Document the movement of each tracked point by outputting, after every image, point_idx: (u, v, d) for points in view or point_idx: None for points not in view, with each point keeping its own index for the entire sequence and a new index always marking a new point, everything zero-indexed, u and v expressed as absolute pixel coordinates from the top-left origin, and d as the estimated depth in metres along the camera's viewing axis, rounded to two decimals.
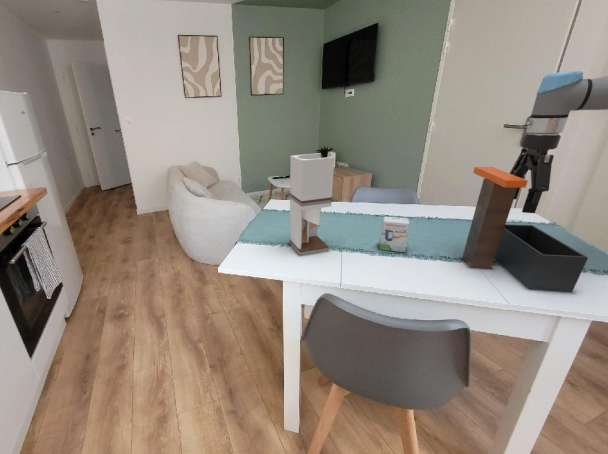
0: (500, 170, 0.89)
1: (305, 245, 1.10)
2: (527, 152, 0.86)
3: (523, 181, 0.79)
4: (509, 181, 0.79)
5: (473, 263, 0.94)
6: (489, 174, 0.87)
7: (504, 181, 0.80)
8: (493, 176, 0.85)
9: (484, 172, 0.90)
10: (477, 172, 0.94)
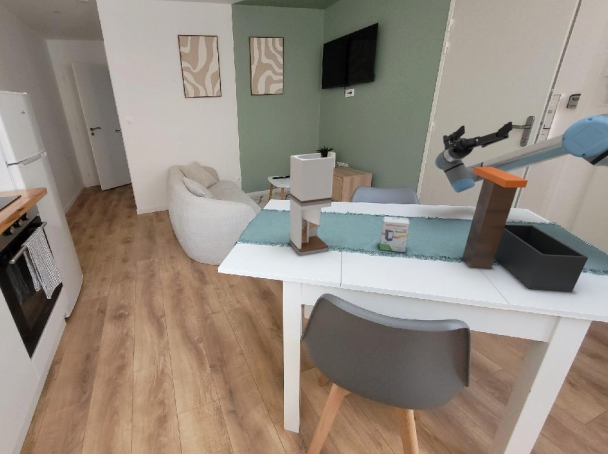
0: (500, 170, 0.89)
1: (305, 245, 1.10)
2: None
3: (523, 181, 0.79)
4: (509, 181, 0.79)
5: (473, 263, 0.94)
6: (489, 174, 0.87)
7: (504, 181, 0.80)
8: (493, 176, 0.85)
9: (484, 172, 0.90)
10: (477, 172, 0.94)
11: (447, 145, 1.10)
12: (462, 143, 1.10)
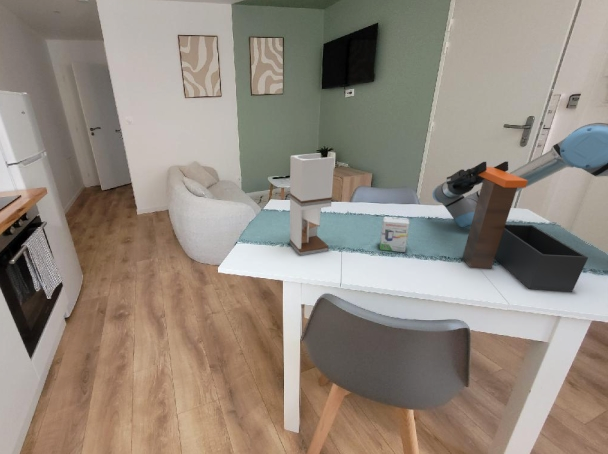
0: (500, 170, 0.89)
1: (305, 245, 1.10)
2: None
3: (523, 181, 0.79)
4: (509, 181, 0.79)
5: (473, 263, 0.94)
6: (489, 174, 0.87)
7: (504, 181, 0.80)
8: (493, 176, 0.85)
9: (484, 172, 0.90)
10: None
11: (456, 180, 1.01)
12: (467, 180, 1.02)
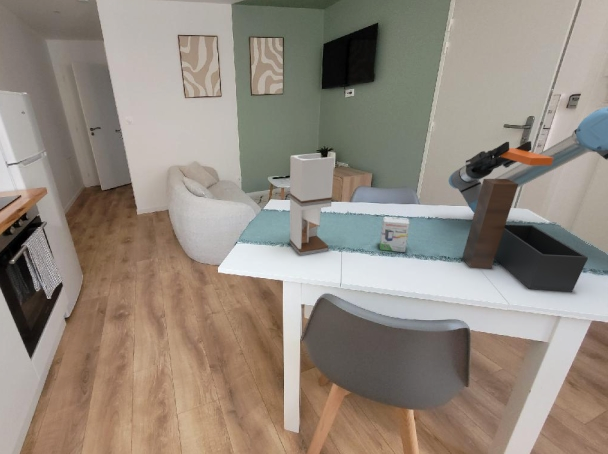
0: None
1: (305, 245, 1.10)
2: None
3: (549, 158, 0.78)
4: (534, 159, 0.79)
5: (473, 263, 0.94)
6: (512, 154, 0.87)
7: (529, 159, 0.80)
8: (517, 155, 0.85)
9: (506, 152, 0.90)
10: None
11: (476, 163, 1.01)
12: (487, 163, 1.02)
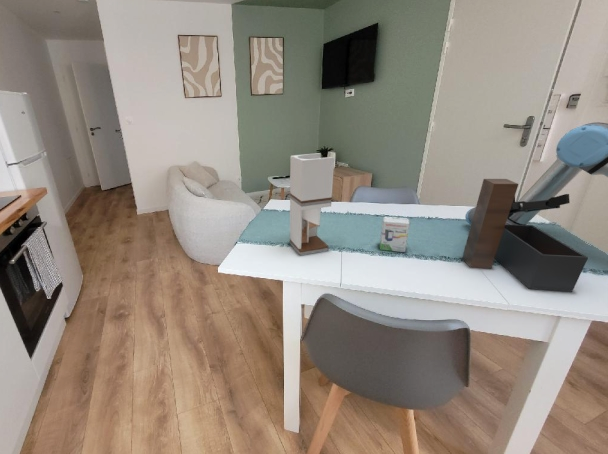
0: None
1: (305, 245, 1.10)
2: None
3: None
4: None
5: (473, 263, 0.94)
6: None
7: None
8: None
9: None
10: None
11: None
12: None
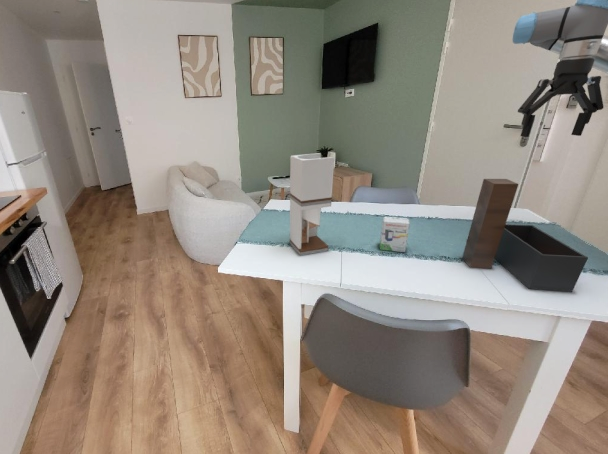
0: None
1: (305, 245, 1.10)
2: (560, 81, 0.85)
3: None
4: None
5: (473, 263, 0.94)
6: None
7: None
8: None
9: None
10: None
11: None
12: None
